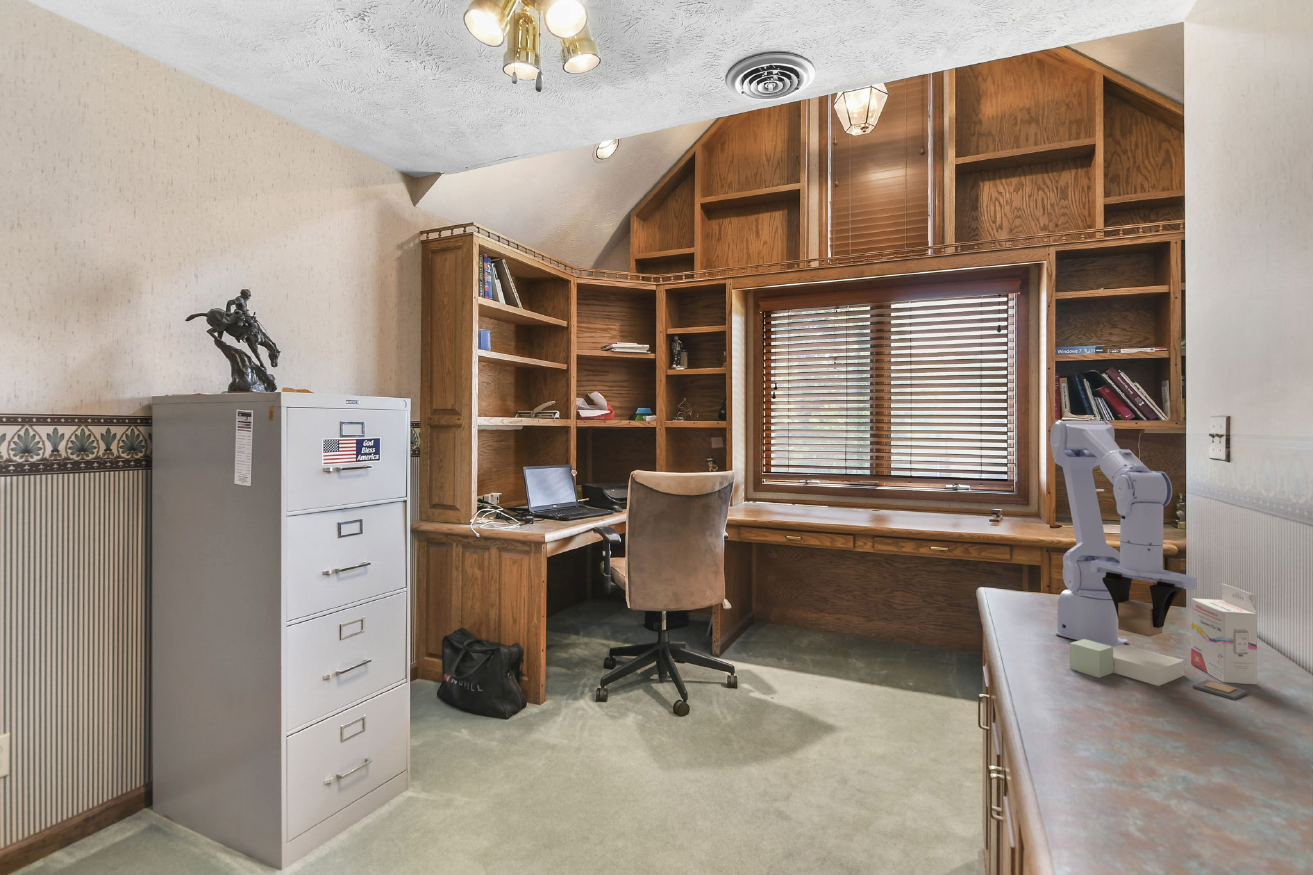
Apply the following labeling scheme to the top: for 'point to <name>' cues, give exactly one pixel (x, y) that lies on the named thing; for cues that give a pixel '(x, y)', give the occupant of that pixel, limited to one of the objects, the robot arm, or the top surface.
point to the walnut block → (1137, 618)
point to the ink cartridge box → (1226, 636)
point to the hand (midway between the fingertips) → (1140, 622)
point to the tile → (1220, 689)
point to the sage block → (1091, 658)
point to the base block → (1146, 665)
